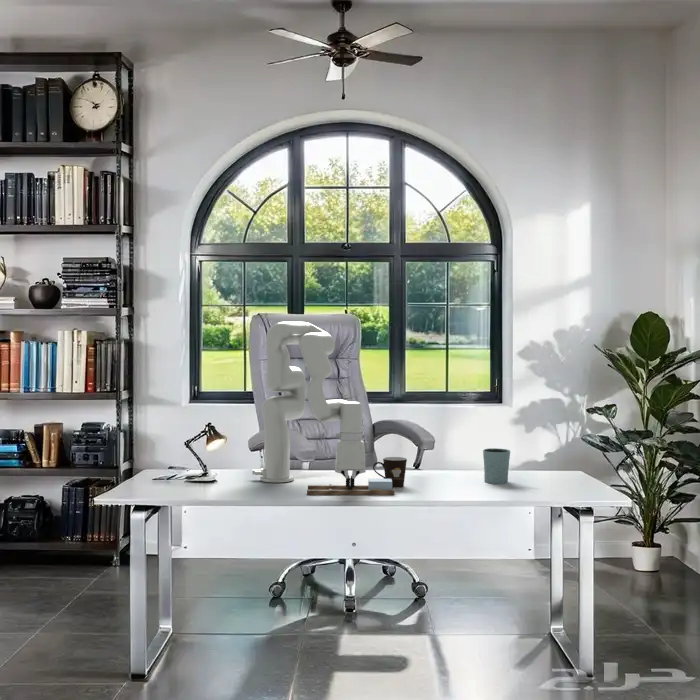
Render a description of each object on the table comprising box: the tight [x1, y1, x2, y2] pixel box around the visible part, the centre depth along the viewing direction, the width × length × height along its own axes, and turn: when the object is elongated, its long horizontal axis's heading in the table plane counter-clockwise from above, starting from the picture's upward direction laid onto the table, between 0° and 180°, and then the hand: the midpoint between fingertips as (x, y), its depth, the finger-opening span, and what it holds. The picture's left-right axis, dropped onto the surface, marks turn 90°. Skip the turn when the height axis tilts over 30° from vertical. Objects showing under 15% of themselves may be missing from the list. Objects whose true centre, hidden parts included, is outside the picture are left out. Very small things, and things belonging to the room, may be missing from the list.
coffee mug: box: [372, 456, 408, 488], centre depth 329 cm, size 12×9×10 cm
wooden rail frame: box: [306, 484, 395, 496], centre depth 316 cm, size 30×10×2 cm, turn 91°
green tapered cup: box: [482, 447, 511, 485], centre depth 338 cm, size 10×10×12 cm
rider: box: [367, 478, 392, 490], centre depth 316 cm, size 8×6×4 cm
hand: (350, 489), depth 316 cm, fingers closed
